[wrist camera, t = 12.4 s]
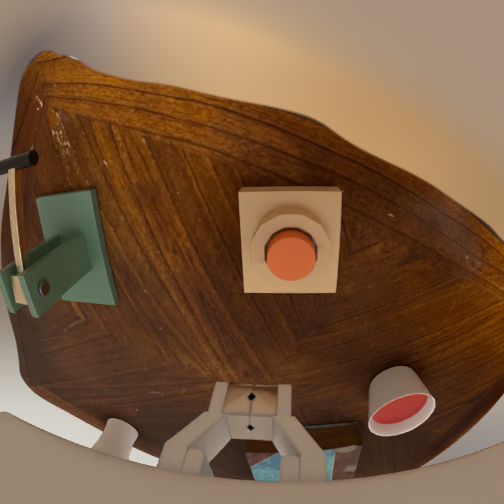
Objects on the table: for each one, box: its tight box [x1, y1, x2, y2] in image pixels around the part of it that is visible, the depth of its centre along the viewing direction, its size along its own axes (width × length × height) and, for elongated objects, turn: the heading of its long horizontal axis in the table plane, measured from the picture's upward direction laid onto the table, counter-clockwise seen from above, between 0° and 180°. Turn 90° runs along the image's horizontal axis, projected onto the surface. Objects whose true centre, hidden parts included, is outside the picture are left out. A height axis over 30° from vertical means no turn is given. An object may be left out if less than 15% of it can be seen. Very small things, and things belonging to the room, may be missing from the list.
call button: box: [238, 186, 342, 293], centre depth 28 cm, size 10×9×4 cm
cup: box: [91, 418, 138, 460], centre depth 42 cm, size 10×10×14 cm
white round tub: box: [368, 366, 435, 436], centre depth 34 cm, size 9×9×6 cm
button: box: [267, 230, 316, 281], centre depth 26 cm, size 4×4×2 cm
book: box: [246, 421, 363, 482], centre depth 44 cm, size 23×18×5 cm
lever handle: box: [0, 150, 38, 305], centre depth 23 cm, size 14×6×2 cm, turn 2°
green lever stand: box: [0, 188, 119, 318], centre depth 28 cm, size 14×9×12 cm, turn 2°
